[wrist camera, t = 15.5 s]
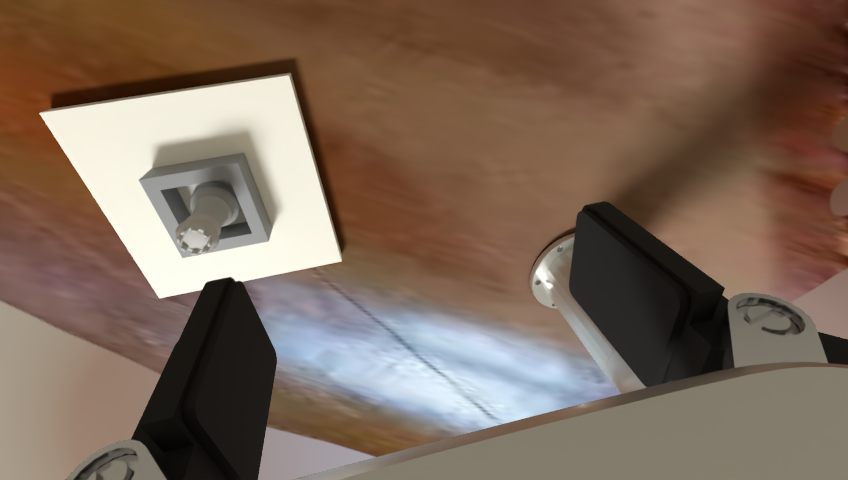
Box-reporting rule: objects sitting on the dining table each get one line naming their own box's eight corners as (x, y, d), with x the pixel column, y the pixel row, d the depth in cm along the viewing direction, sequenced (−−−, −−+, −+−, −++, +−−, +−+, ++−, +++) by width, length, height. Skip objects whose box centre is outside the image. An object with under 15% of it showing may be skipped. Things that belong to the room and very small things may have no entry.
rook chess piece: (211, 226, 39) (185, 272, 32) (183, 188, 36) (148, 230, 30) (253, 210, 39) (235, 253, 32) (227, 171, 36) (203, 209, 30)
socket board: (290, 72, 34) (285, 80, 31) (341, 254, 45) (342, 275, 42) (50, 108, 32) (14, 122, 29) (164, 289, 43) (148, 315, 40)
